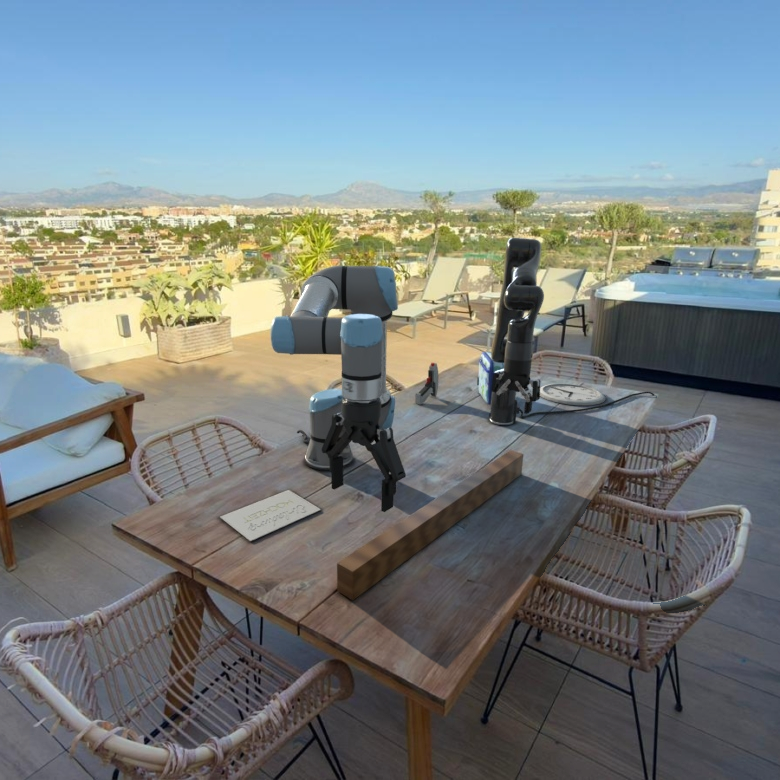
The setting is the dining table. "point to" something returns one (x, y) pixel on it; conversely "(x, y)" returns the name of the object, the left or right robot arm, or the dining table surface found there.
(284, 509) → the invitation card
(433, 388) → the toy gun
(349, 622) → the dining table surface
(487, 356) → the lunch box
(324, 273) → the left robot arm
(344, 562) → the bar
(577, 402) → the wall clock
